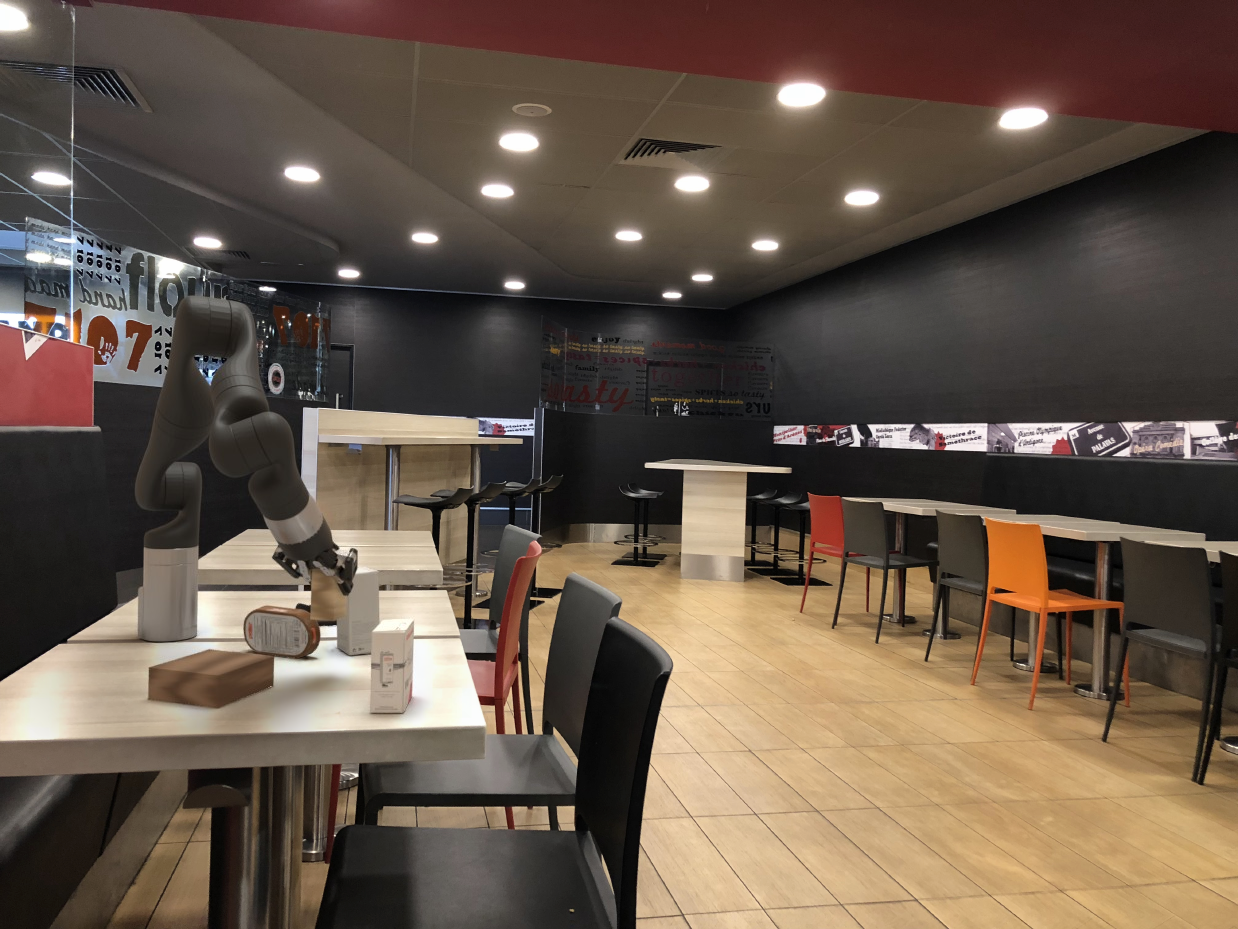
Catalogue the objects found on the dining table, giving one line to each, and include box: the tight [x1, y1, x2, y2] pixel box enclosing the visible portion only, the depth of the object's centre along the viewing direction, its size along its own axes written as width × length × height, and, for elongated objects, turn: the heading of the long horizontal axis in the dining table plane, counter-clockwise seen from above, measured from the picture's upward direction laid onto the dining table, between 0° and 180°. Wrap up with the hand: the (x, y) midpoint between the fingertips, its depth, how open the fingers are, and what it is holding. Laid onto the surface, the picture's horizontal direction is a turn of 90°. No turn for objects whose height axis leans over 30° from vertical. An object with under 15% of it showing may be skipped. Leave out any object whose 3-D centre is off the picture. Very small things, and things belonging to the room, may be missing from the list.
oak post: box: [310, 562, 347, 621], centre depth 137 cm, size 4×4×9 cm
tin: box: [242, 604, 322, 659], centre depth 150 cm, size 15×3×8 cm, turn 71°
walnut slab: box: [147, 648, 275, 709], centre depth 127 cm, size 12×12×5 cm
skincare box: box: [336, 566, 380, 656], centre depth 155 cm, size 8×6×15 cm
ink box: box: [369, 618, 415, 714], centre depth 124 cm, size 9×5×12 cm, turn 5°
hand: (334, 590), depth 139 cm, fingers closed on oak post, 4 cm apart
